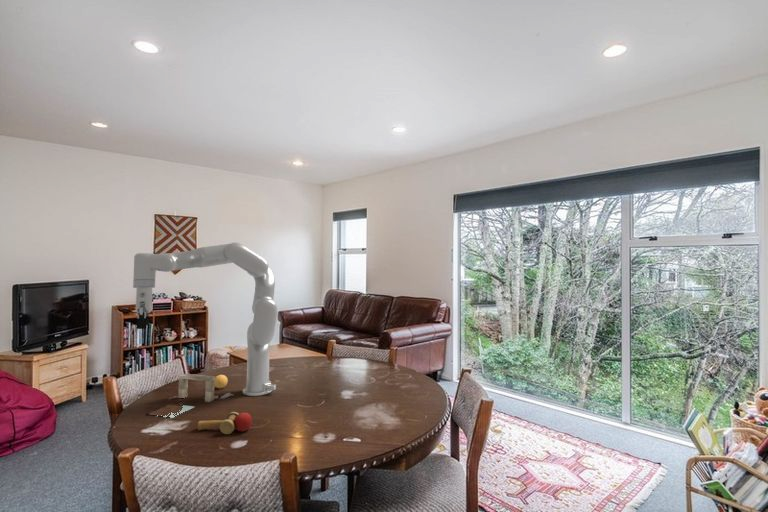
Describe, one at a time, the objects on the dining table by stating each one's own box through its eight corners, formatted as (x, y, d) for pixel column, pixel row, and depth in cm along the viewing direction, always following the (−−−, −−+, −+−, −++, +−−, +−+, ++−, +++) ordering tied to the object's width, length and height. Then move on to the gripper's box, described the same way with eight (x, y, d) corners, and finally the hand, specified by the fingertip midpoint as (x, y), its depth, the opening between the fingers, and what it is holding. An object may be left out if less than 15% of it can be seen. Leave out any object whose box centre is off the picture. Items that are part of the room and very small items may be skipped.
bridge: (183, 396, 167) (184, 373, 167) (213, 399, 164) (214, 376, 164) (178, 398, 164) (178, 375, 165) (209, 402, 161) (209, 378, 161)
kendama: (193, 439, 129) (247, 432, 129) (193, 419, 130) (246, 412, 130) (204, 434, 137) (255, 427, 137) (204, 415, 138) (254, 408, 138)
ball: (230, 386, 182) (230, 373, 182) (221, 390, 176) (222, 377, 176) (218, 385, 183) (219, 372, 183) (210, 389, 177) (210, 376, 177)
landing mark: (194, 407, 155) (194, 406, 155) (171, 418, 143) (171, 417, 143) (169, 404, 158) (169, 403, 158) (144, 414, 146) (144, 414, 146)
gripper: (153, 284, 151) (151, 329, 150) (156, 283, 166) (155, 323, 165) (130, 285, 147) (128, 330, 147) (135, 283, 163) (134, 324, 162)
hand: (142, 326), depth 156 cm, fingers open, 9 cm apart
